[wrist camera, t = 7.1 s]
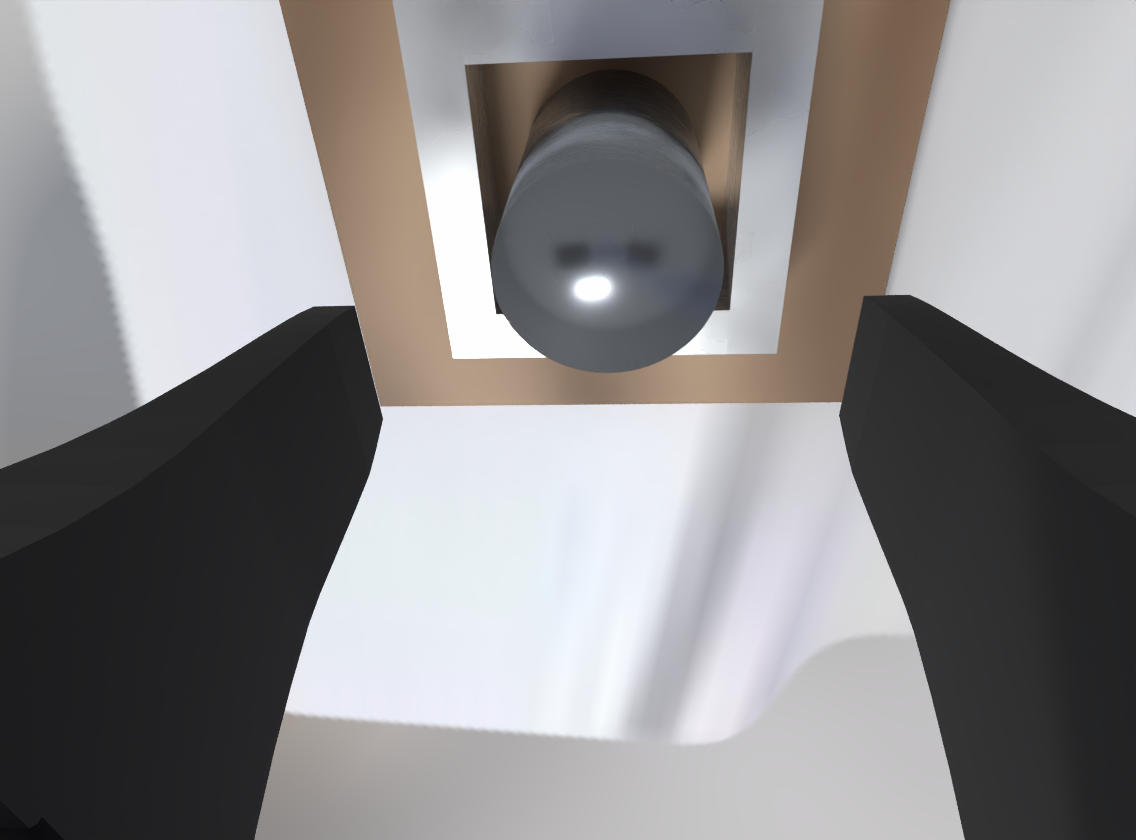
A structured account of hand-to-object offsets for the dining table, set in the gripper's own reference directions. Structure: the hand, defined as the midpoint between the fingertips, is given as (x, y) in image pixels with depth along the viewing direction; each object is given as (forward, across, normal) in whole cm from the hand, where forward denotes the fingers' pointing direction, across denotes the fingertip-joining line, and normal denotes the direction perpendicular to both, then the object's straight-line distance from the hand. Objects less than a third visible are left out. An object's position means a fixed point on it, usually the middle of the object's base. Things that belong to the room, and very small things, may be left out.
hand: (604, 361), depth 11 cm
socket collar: (+9, 0, 0) cm, 9 cm away
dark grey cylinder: (+9, 0, 0) cm, 9 cm away
